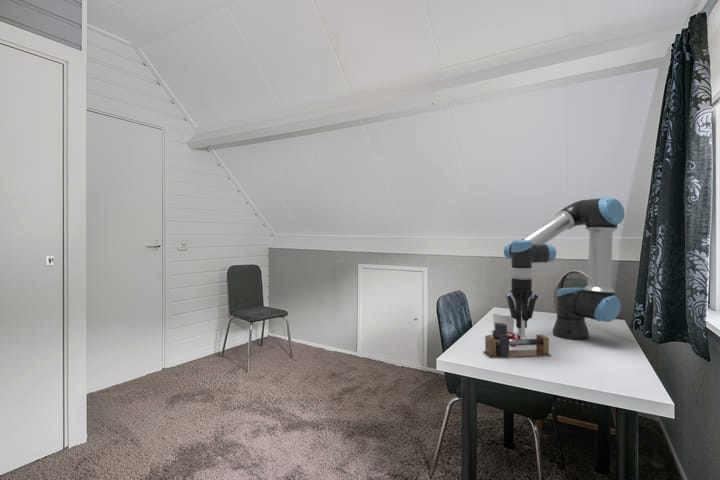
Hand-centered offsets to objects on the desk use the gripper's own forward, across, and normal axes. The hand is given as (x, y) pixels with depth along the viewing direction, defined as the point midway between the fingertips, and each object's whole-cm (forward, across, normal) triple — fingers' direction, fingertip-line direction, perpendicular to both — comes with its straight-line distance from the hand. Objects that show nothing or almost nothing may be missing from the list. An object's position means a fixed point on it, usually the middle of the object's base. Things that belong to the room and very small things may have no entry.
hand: (521, 335), depth 150 cm
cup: (+8, -8, -31) cm, 33 cm away
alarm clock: (+8, -2, -16) cm, 18 cm away
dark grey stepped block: (+7, +9, 0) cm, 12 cm away
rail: (+7, +2, 0) cm, 8 cm away
